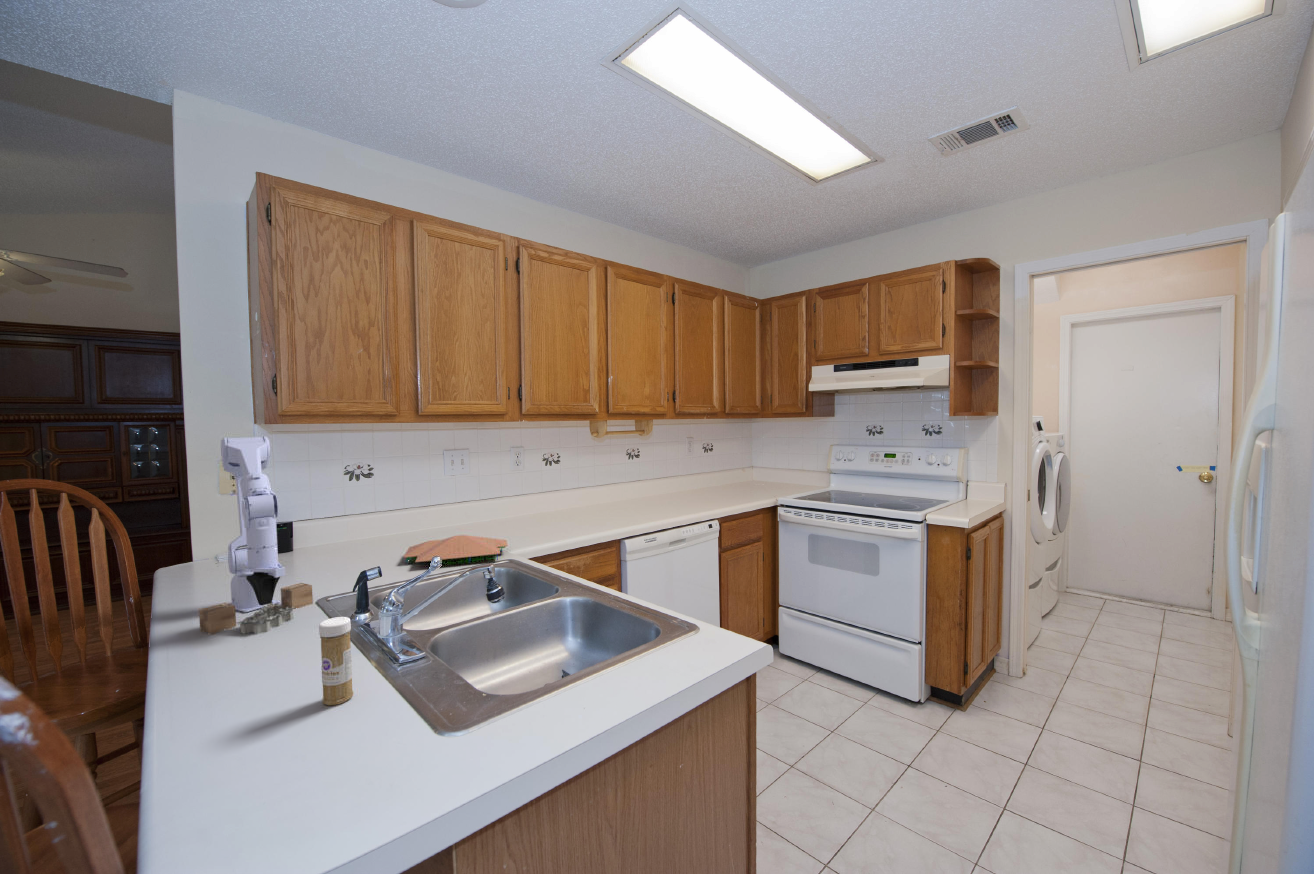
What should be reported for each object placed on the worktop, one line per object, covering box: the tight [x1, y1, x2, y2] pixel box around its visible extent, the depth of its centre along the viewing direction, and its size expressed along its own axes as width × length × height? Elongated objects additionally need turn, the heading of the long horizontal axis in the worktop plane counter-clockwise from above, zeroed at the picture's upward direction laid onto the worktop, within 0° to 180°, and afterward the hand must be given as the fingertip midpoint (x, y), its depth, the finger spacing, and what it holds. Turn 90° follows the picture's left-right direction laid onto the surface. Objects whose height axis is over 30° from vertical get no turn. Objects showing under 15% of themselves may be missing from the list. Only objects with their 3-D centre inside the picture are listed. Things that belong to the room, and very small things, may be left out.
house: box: [402, 534, 508, 566], centre depth 184 cm, size 23×33×8 cm
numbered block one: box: [280, 582, 314, 611], centre depth 139 cm, size 5×5×5 cm
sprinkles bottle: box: [318, 616, 354, 706], centre depth 90 cm, size 5×5×13 cm
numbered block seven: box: [198, 602, 237, 635], centre depth 125 cm, size 5×5×5 cm
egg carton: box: [236, 602, 296, 635], centre depth 126 cm, size 11×8×4 cm
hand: (265, 603), depth 126 cm, fingers closed
